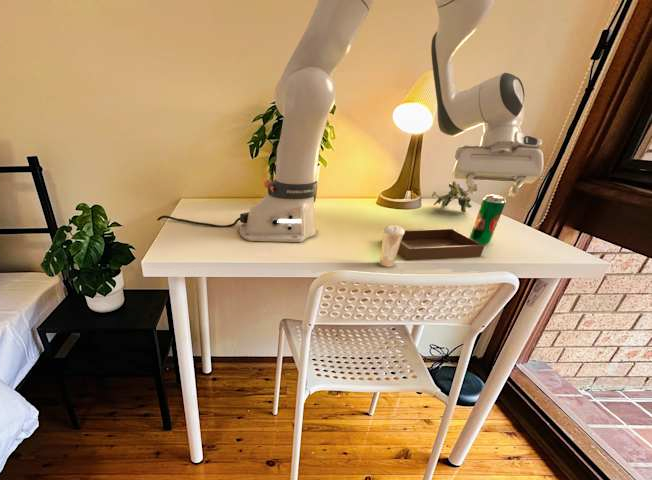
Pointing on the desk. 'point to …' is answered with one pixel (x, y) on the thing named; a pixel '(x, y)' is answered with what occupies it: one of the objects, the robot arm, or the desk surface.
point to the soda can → (487, 218)
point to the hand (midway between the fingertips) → (492, 193)
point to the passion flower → (458, 194)
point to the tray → (438, 245)
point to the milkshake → (390, 244)
